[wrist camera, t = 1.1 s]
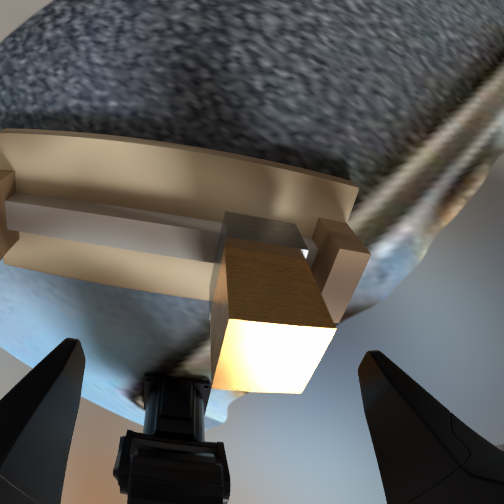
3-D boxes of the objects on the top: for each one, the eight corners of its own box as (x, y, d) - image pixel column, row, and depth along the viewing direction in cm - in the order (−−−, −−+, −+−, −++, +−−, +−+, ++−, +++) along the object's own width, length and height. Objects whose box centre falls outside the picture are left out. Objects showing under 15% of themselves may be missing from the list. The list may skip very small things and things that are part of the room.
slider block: (272, 294, 21) (297, 399, 14) (209, 286, 20) (209, 394, 13) (295, 223, 18) (341, 318, 11) (225, 211, 17) (231, 307, 11)
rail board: (306, 300, 25) (324, 350, 21) (12, 253, 21) (-21, 294, 16) (350, 180, 21) (387, 213, 16) (5, 128, 16) (-44, 148, 11)
